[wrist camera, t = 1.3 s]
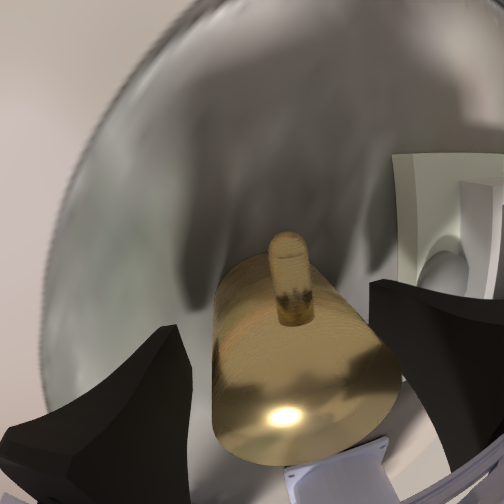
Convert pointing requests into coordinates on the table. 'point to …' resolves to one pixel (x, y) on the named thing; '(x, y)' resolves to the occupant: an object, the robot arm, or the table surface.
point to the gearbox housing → (451, 222)
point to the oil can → (294, 362)
